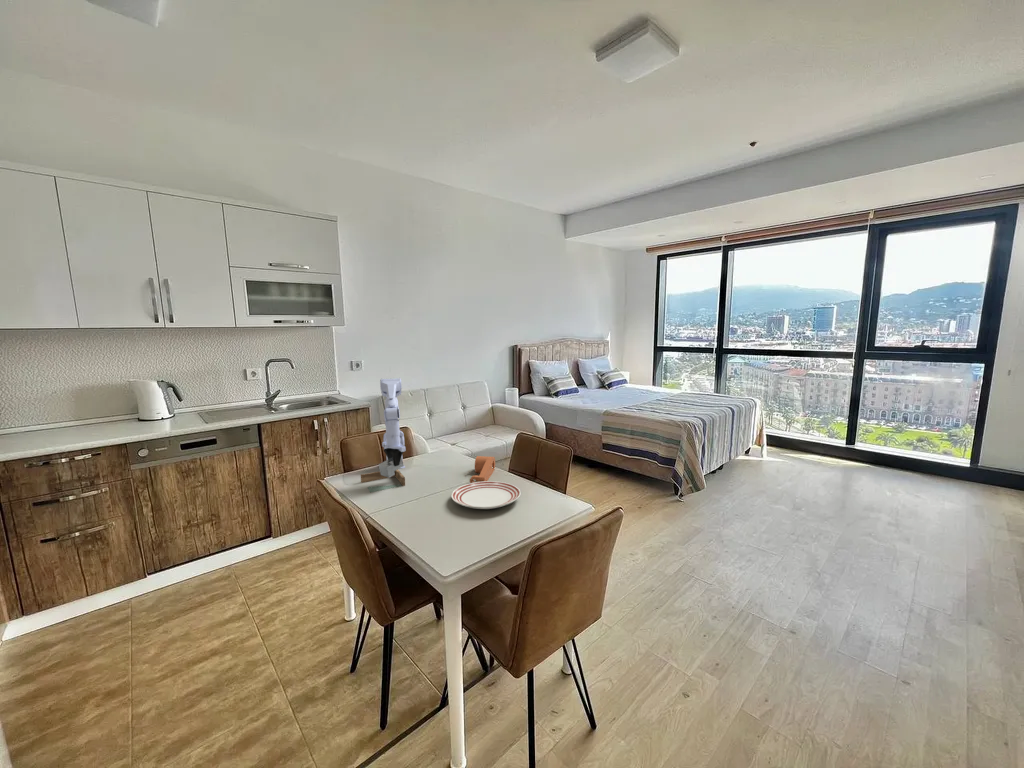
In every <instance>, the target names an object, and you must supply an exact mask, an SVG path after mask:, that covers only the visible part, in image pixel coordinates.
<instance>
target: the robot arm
mask: <svg viewBox="0 0 1024 768" xmlns="http://www.w3.org/2000/svg"><path fill="white" fill-rule="evenodd" d="M379 384H380V393H381V395H382V397H384V398H385V400H384V410H383V420H384V425H385V433H383V441H382V442H381V447H383V452H384V453H385V455H386V456H385V457H386V460H388V459H390V458H392V457H393V460H394V465H395V466H398V465H400V460H401V456H402V460H403V459H404V458H403V455H404V452H406V451H407V449H406V448H407V447H406V446H405V445H406V444H405V436H404V435H405V434H404V432H403V431H402V430H401V429H400V419H401V413H400V412H401V411H400V407H399V400H398V397H399V396H401V395H402V389H403V387H402V385H403V384H402V378H401V377H396V378H395V377H393V378H380V381H379ZM405 468H406V466H405V465H404V466H403V467H401V468H399V469H398V470H400V469H405Z"/></svg>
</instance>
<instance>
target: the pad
mask: <svg viewBox="0 0 1024 768" xmlns="http://www.w3.org/2000/svg"><path fill="white" fill-rule="evenodd" d="M399 487H402V484H393V485H392V484H389V485H375V486H367V489H368V491H369V492H370V493H374V492H379V491H385V490H388V489H394V488H399Z"/></svg>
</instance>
